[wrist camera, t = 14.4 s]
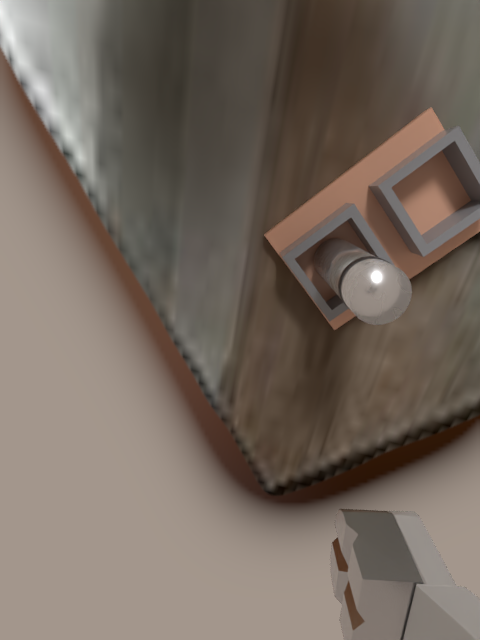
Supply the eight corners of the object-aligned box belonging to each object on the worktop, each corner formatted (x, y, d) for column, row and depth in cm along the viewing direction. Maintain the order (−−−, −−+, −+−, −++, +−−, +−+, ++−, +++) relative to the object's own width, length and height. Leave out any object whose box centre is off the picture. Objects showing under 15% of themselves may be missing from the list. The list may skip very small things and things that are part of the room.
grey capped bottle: (304, 255, 39) (335, 289, 26) (340, 229, 39) (391, 250, 25) (328, 288, 40) (369, 337, 27) (363, 263, 40) (424, 300, 26)
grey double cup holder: (263, 234, 40) (265, 238, 36) (425, 109, 37) (447, 99, 33) (332, 326, 43) (340, 340, 39) (488, 219, 39) (516, 222, 35)
